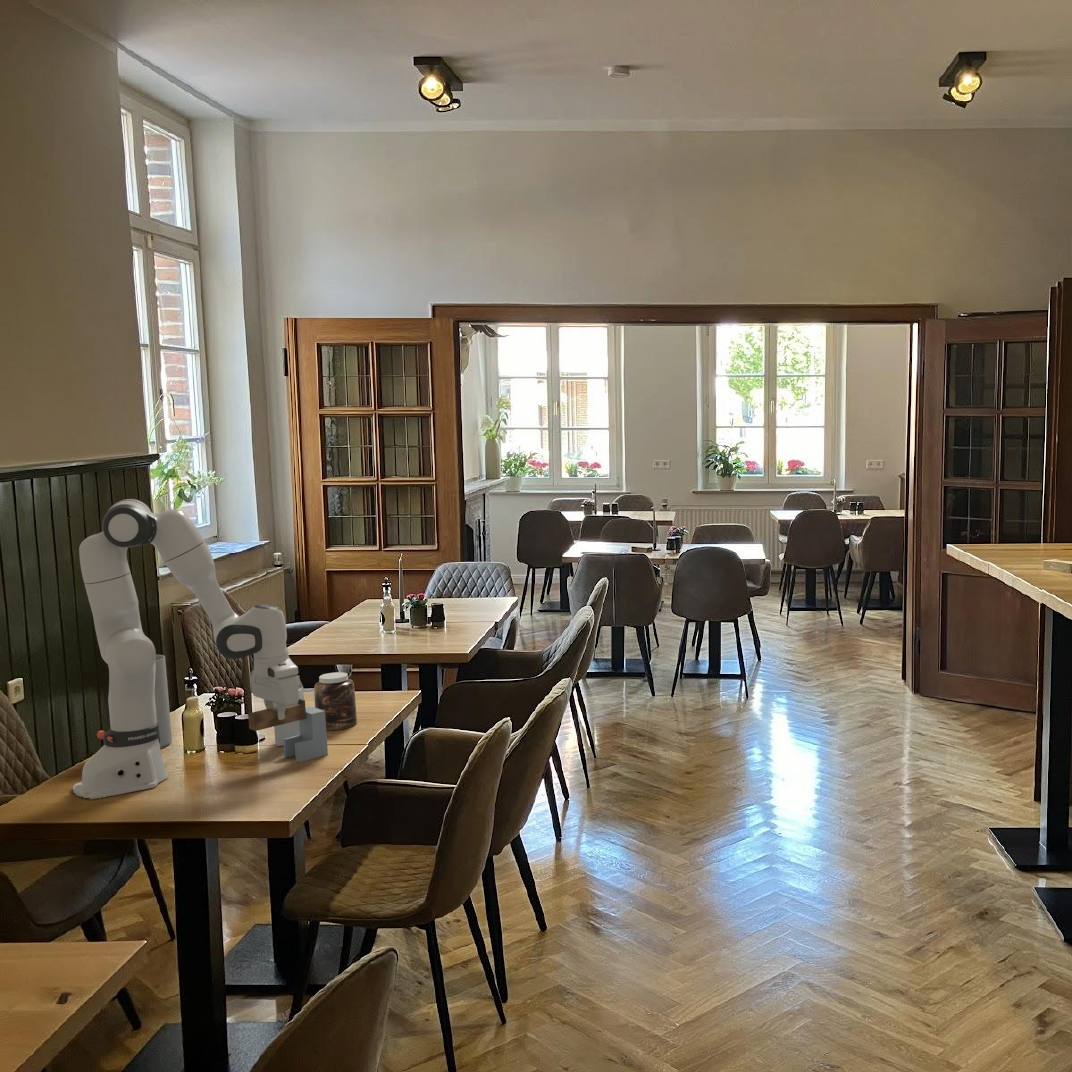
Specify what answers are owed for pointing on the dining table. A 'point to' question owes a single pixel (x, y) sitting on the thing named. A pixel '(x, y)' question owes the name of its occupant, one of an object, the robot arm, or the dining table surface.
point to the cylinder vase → (162, 701)
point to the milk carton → (288, 728)
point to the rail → (269, 719)
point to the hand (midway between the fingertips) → (276, 717)
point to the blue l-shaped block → (308, 737)
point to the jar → (336, 700)
